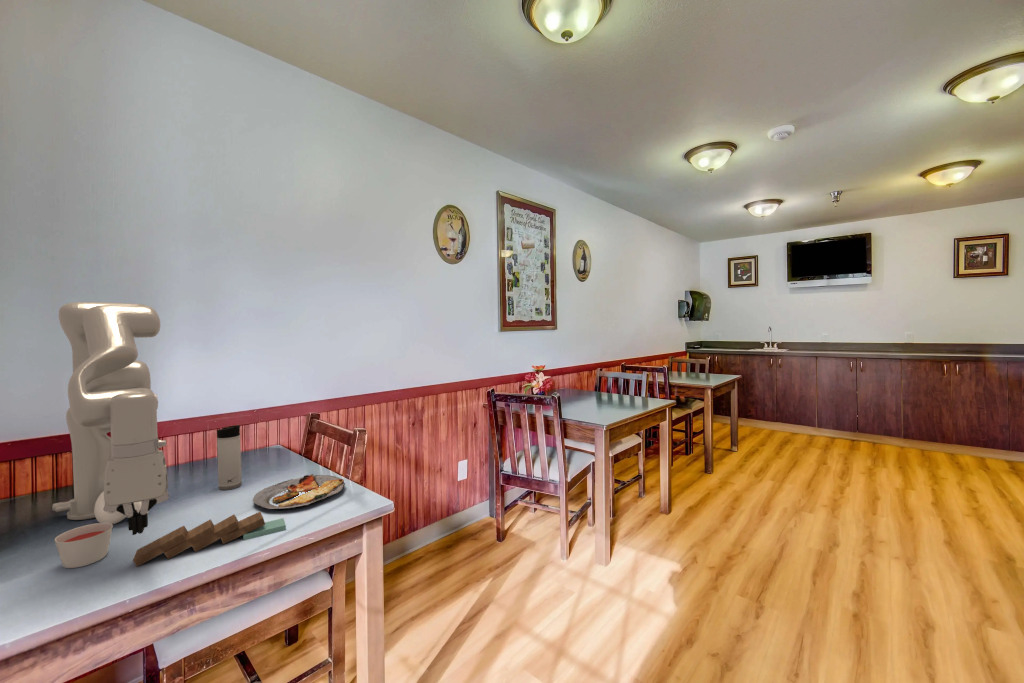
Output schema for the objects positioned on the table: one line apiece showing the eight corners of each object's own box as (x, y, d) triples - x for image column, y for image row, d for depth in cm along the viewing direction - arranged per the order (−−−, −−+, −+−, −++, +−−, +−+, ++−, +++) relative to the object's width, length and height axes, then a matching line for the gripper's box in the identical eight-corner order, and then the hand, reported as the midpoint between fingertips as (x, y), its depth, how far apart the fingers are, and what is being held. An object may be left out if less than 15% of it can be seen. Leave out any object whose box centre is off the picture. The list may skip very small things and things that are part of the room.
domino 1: (132, 560, 89) (181, 533, 93) (137, 549, 93) (184, 525, 98) (136, 566, 89) (185, 540, 94) (141, 556, 93) (187, 531, 98)
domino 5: (243, 535, 100) (285, 525, 105) (242, 527, 104) (283, 518, 109) (243, 542, 100) (285, 532, 105) (243, 534, 104) (283, 524, 109)
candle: (124, 548, 97) (123, 522, 97) (86, 571, 88) (85, 541, 88) (85, 550, 97) (84, 523, 96) (42, 572, 88) (41, 543, 88)
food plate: (315, 476, 144) (315, 466, 144) (360, 489, 132) (360, 478, 132) (238, 504, 123) (237, 493, 122) (283, 523, 111) (282, 510, 110)
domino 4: (220, 537, 98) (263, 517, 103) (219, 530, 102) (260, 511, 107) (223, 544, 98) (265, 524, 103) (221, 536, 102) (262, 517, 107)
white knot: (164, 514, 115) (163, 482, 115) (106, 533, 105) (104, 498, 104) (147, 506, 121) (146, 476, 121) (90, 523, 110) (89, 490, 110)
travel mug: (234, 490, 132) (232, 427, 132) (213, 490, 132) (211, 428, 132) (247, 483, 139) (245, 423, 138) (227, 483, 139) (225, 423, 138)
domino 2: (164, 552, 92) (210, 527, 96) (166, 543, 96) (210, 519, 100) (168, 559, 92) (214, 533, 97) (170, 549, 96) (214, 525, 101)
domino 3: (191, 545, 95) (235, 521, 99) (192, 537, 99) (234, 514, 103) (195, 552, 95) (239, 527, 100) (196, 543, 99) (237, 520, 104)
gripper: (180, 440, 98) (183, 516, 99) (92, 451, 90) (96, 534, 90) (177, 447, 92) (180, 529, 92) (82, 459, 84) (86, 549, 84)
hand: (138, 531), depth 91 cm, fingers closed
